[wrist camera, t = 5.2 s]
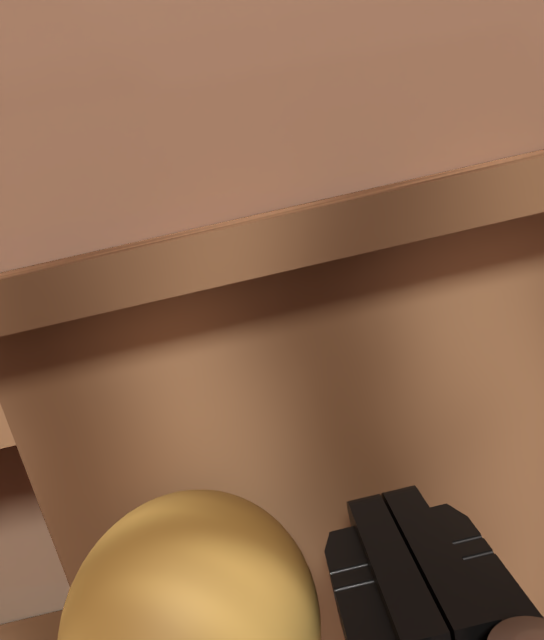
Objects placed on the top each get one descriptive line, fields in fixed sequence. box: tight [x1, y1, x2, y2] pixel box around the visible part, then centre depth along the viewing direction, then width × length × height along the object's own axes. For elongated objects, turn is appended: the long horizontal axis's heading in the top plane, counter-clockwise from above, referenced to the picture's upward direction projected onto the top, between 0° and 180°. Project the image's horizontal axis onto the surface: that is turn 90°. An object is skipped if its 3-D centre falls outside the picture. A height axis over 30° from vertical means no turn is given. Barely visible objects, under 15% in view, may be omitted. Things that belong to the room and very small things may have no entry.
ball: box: [57, 490, 321, 640], centre depth 9 cm, size 5×5×5 cm
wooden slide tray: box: [0, 150, 544, 640], centre depth 13 cm, size 26×14×4 cm, turn 103°
